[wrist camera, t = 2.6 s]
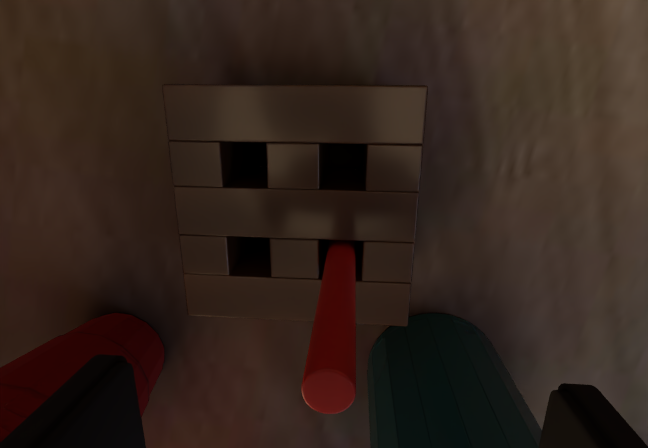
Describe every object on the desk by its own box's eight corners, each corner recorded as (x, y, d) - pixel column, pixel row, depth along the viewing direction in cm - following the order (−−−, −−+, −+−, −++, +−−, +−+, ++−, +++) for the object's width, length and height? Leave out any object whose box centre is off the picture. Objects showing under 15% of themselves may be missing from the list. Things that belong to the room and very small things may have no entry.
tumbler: (369, 309, 24) (379, 444, 14) (506, 316, 23) (612, 461, 14) (364, 414, 26) (369, 589, 17) (487, 423, 26) (566, 609, 16)
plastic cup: (44, 386, 28) (-173, 581, 16) (57, 258, 24) (-203, 392, 13) (184, 431, 28) (67, 654, 17) (216, 310, 25) (97, 486, 13)
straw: (333, 210, 22) (300, 368, 9) (355, 210, 22) (356, 371, 9) (333, 231, 22) (301, 413, 9) (354, 231, 22) (354, 417, 9)
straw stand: (214, 90, 21) (161, 84, 15) (407, 91, 20) (428, 85, 14) (227, 265, 24) (187, 316, 18) (394, 272, 23) (407, 327, 17)
